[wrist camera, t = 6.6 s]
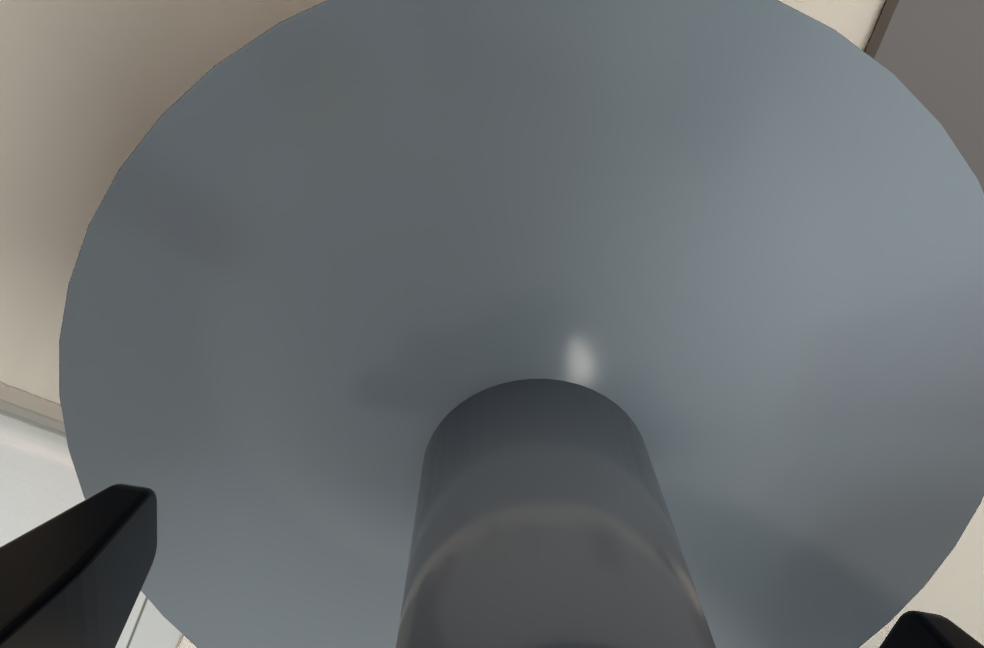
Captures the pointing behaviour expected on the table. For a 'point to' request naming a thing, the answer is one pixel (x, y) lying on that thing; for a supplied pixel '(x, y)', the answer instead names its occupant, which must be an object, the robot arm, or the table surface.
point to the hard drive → (54, 494)
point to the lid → (537, 332)
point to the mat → (939, 64)
